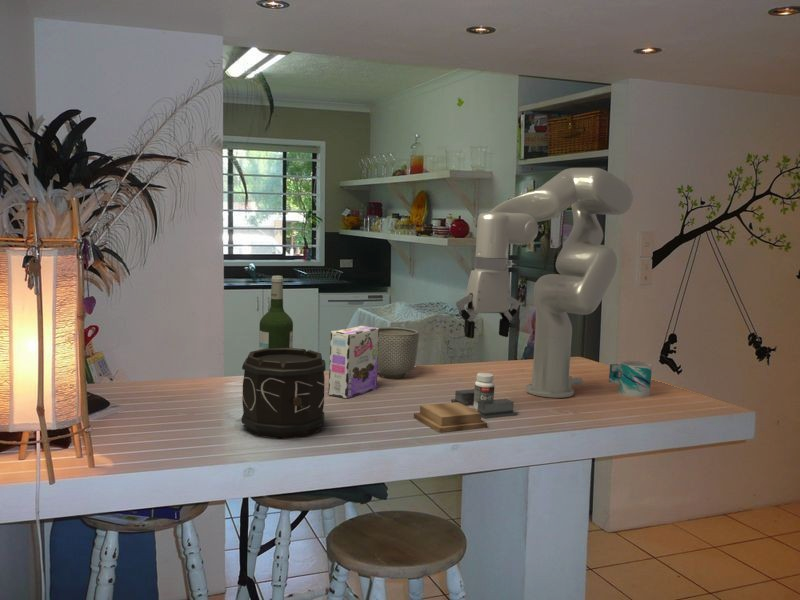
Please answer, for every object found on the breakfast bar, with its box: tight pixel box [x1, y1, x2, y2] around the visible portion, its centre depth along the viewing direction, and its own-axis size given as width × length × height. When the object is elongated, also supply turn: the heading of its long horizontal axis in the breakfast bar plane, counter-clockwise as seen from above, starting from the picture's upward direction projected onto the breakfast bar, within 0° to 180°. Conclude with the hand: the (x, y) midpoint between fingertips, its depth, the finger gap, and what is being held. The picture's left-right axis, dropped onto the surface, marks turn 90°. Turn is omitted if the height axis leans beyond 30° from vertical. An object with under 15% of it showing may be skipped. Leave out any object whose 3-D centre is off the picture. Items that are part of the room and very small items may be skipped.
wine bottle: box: [258, 275, 294, 350], centre depth 179 cm, size 8×8×30 cm
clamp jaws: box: [450, 388, 518, 419], centre depth 181 cm, size 9×15×3 cm, turn 26°
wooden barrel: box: [240, 347, 327, 440], centre depth 158 cm, size 18×18×16 cm
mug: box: [608, 360, 653, 399], centre depth 203 cm, size 8×12×8 cm
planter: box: [377, 326, 420, 380], centre depth 211 cm, size 14×14×13 cm
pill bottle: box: [473, 372, 495, 411], centre depth 180 cm, size 5×5×8 cm
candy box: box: [328, 325, 379, 399], centre depth 190 cm, size 14×6×16 cm, turn 148°
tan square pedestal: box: [413, 402, 488, 433], centre depth 167 cm, size 12×12×3 cm
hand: (486, 336), depth 179 cm, fingers open, 9 cm apart
